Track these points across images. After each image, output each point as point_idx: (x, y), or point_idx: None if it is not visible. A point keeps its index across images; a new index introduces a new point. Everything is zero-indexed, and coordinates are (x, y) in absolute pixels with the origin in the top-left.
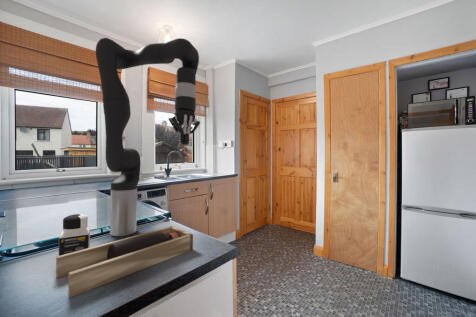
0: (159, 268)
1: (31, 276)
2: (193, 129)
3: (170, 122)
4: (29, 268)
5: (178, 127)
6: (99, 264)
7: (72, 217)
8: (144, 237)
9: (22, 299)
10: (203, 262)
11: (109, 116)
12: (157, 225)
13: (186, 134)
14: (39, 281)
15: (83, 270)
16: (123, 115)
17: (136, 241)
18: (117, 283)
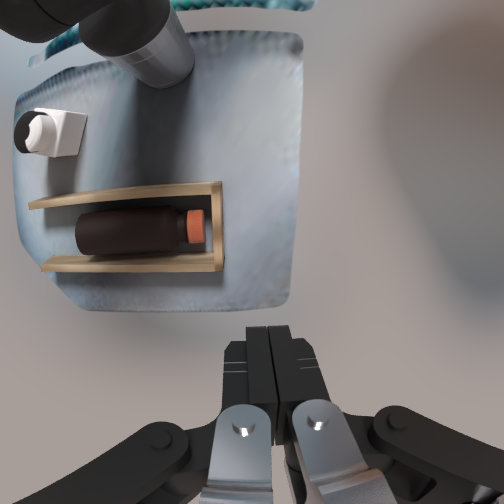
0: (145, 276)
1: (27, 176)
2: (389, 485)
3: (24, 500)
4: None
5: (141, 501)
6: (63, 270)
7: (19, 143)
8: (125, 239)
9: (25, 229)
10: (207, 308)
11: None
12: (255, 65)
13: (283, 440)
14: (33, 198)
15: (50, 271)
16: None
17: (109, 247)
18: None
